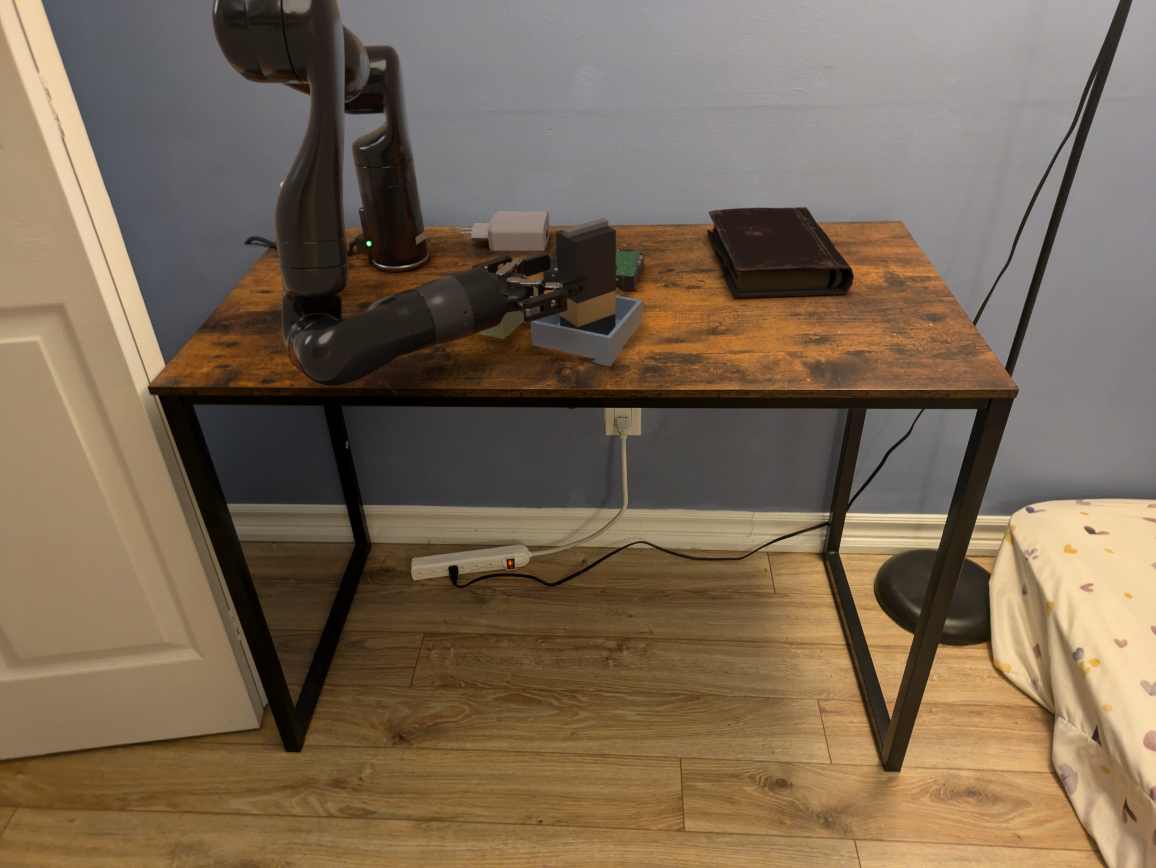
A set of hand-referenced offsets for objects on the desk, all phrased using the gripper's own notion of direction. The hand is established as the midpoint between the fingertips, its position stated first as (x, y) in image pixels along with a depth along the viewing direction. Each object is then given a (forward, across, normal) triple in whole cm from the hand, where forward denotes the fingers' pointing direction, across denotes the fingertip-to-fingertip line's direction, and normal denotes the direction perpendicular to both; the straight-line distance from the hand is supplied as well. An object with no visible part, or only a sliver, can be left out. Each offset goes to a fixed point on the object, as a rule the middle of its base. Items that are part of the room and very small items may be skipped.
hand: (566, 271), depth 99 cm
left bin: (-5, +14, +11) cm, 18 cm away
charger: (+11, +36, +11) cm, 40 cm away
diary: (+42, +2, +11) cm, 43 cm away
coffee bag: (+3, 0, +10) cm, 11 cm away
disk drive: (+16, +16, +11) cm, 25 cm away
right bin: (+3, 0, +11) cm, 11 cm away
